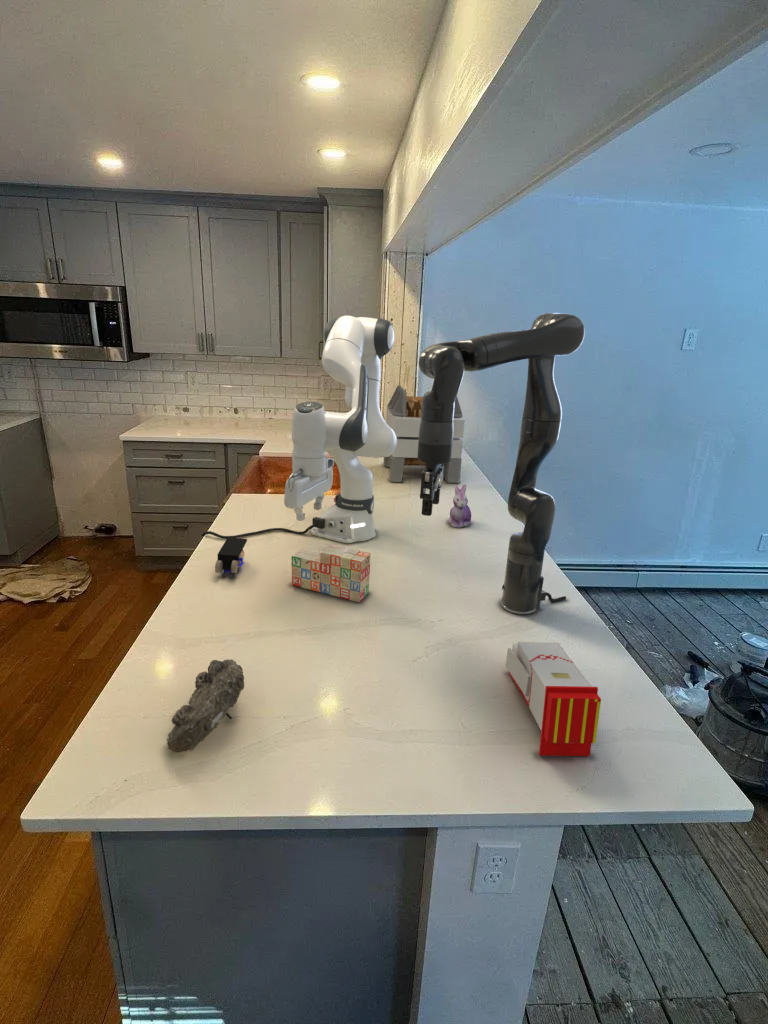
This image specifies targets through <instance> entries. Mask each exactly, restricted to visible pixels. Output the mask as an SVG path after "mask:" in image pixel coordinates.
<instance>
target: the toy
mask: <svg viewBox="0 0 768 1024" xmlns="http://www.w3.org/2000/svg"><path fill="white" fill-rule="evenodd" d="M511 646H512V647H508V648H507V653H506V658H505V659H506V660H505V668H506V669H507V671H508V675H509V676H510V677H511V679H512V681H513V682H514V684H515V686H516V688H517V689H518V691H519V693H520V694H521V696H522V698H523V700H524V702H525V703H526V705H527V706H528V708H529V710H530V712H531V715H532V716H533V718H534V720H535V722H536V723H537V724H536V725H537V726H538V727H539V730H540V731H541V733H540V739H539V740H540V741H539V749H538V751H539V752H538V754H539V756H543V757H548V756H550V757H551V756H552V757H553V756H554V757H568V756H569V757H591V751H592V744H596V743H597V734H598V726H599V717H600V710H601V702H602V698H601V697H600V696H599V694H598V693H599V688H598V686H592V684H590V682H589V681H588V680H587V678H586V677H585V676H584V675H583V673H582V672H581V671H580V669H579V668H578V667H577V665H576V664H575V663H574V661H573V660H572V659H571V658H570V656H569V655H568V654H567V652H566V651H565V649H564V647H562V645H561V644H560V643H559V642H553V641H551V642H549V641H548V642H547V641H546V642H545V641H517V642H512V645H511Z"/></svg>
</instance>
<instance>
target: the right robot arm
mask: <svg viewBox="0 0 768 1024" xmlns="http://www.w3.org/2000/svg"><path fill="white" fill-rule="evenodd" d="M585 331H586V330H585V325H584V323H583V321H582V320H581V319H580V317H578V316H576V315H574V314H571V313H564V312H544V313H541V314H539V315H538V316H537V317H536V318H535V319H534V321H533V322H532V325H531V327H530V328H529V329H523V330H522V329H521V330H511V331H502V332H494V333H488V334H484V335H480V336H475V337H471V338H469V339H464V340H455V341H454V340H453V341H446V342H445V341H444V342H439V343H434V344H431V345H429V346H427V347H426V348H424V349H423V350H422V352H421V353H420V355H419V358H418V367H419V370H420V372H421V373H422V374H423V375H424V376H426V377H428V378H429V379H432V380H433V383H432V386H431V390H429V391H426V392H425V393H424V394H423V396H422V397H423V400H422V414H421V423H420V428H419V442H418V460H419V461H421V462H424V463H426V466H425V469H423V470H422V471H421V478H420V479H421V480H420V493H419V499H422V501H421V505H422V506H421V515H422V516H427V517H430V516H432V514H433V505H438V504H439V503H440V497H441V496H440V495H441V488H442V487H443V486H442V485H443V483H444V476H443V475H444V474H443V473H444V464H446V463H449V462H450V461H451V456H452V445H453V433H454V428H453V419H454V407H455V399H456V397H457V398H458V395H459V392H460V387H461V385H462V381H463V378H464V375H465V372H479V371H483V370H488V369H490V368H495V367H499V366H502V365H507V364H510V363H514V362H519V361H523V360H527V378H526V379H527V380H526V388H525V397H524V405H523V411H522V417H521V427H520V433H519V434H520V435H519V443H518V449H517V456H516V462H515V467H514V472H513V476H512V480H511V485H510V488H509V493H508V498H507V511H508V513H509V515H510V517H512V518H513V519H515V520H516V521H519V522H520V523H523V524H524V527H523V530H522V531H521V532H516V533H513V534H511V535H510V537H509V541H508V547H507V549H508V550H507V557H506V566H505V573H504V580H503V584H502V586H501V591H502V596H501V600H500V605H501V607H502V608H503V609H504V610H505V611H507V612H510V613H511V614H516V615H531V614H533V613H536V611H538V610H540V606H541V602H544V601H546V598H548V601H549V602H551V603H558V602H561V601H564V600H567V596H565V595H563V596H560V597H557V598H553V597H552V594H551V593H550V592H547V591H545V590H543V587H544V586H543V585H544V580H545V577H544V576H543V575H542V571H543V564H544V558H545V552H546V547H547V545H548V543H549V541H550V537H551V534H552V528H553V524H554V520H555V515H556V501H555V499H554V497H553V496H552V495H551V494H549V493H547V492H544V491H542V490H540V489H537V479H538V473H539V469H540V467H541V465H542V464H543V462H544V461H545V460H546V458H547V457H548V456H549V454H550V453H551V452H552V450H554V448H555V446H556V445H557V442H558V440H559V437H560V431H561V426H562V425H561V424H562V418H563V409H562V403H561V400H560V396H559V393H558V390H557V387H556V383H555V376H554V374H555V373H554V371H555V362H556V361H555V360H556V356H557V357H562V356H569V355H571V354H573V353H575V352H577V350H578V349H580V347H581V346H582V345H583V342H584V339H585V335H586V332H585ZM427 491H429V492H428V493H427Z"/></svg>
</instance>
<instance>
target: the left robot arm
mask: <svg viewBox="0 0 768 1024" xmlns="http://www.w3.org/2000/svg"><path fill="white" fill-rule="evenodd" d="M323 334H324V335H323V338H324V343H325V344H324V346H323V350H322V354H321V364H322V368H323V370H324V371H325V373H326V374H327V375H328V376H329V377H330V378H331V379H333V380H334V381H336V382H338V383H340V384H342V385H344V386H345V390H344V391H345V392H344V393H345V394H344V402H345V404H346V406H347V407H348V408H349V409H350V411H347V412H338V411H337V412H336V411H329V410H325V407H324V404H322V403H320V402H318V401H305V402H300V403H298V404H296V405H295V406H294V409H293V412H292V421H291V441H292V443H293V446H292V447H293V448H292V451H291V469H292V470H291V473H290V475H289V478H287V480H286V482H285V486H284V498H283V499H284V500H283V502H284V506H285V508H288V509H292V510H293V511H294V513H295V519H296V521H298V522H302V521H304V520H305V519H306V513H305V512H303V509H304V506H305V505H307V504H308V503H310V502H312V501H313V500H314V503H313V510H314V511H319V510H321V509H322V507H323V501H324V498H325V494H326V493H327V492H329V491H330V490H331V489H332V487H333V481H334V468H333V467H334V465H336V467H337V470H338V473H339V483H340V484H339V485H340V488H339V489H340V490H339V491H338V492H337V494H336V495H335V496H334V497H333V502H334V504H333V505H331V506H329V507H328V508H326V509H325V510H323V512H321V514H320V515H319V517H318V516H314V517H312V522H311V523H312V524H311V525H310V526H308V527H307V528H305V529H304V530H302V531H296V530H292V529H290V528H289V529H288V528H286V527H285V528H284V527H272V528H265V529H262V530H257V531H252V532H246V533H241V534H236V535H235V534H234V535H222V534H218V533H217V532H215V531H211V530H207V531H204V532H203V533H202V534H200V537H205V536H207V535H212V536H214V537H215V538H219V539H224V540H226V539H227V538H244V537H245V538H246V537H250V536H256V535H260V534H265V533H270V532H286V533H291V534H295V535H305V534H307V533H308V532H309V531H310V533H311V536H315V537H319V538H323V539H326V540H330V541H336V542H339V543H343V544H352V543H357V542H365V541H368V540H372V539H373V538H375V537H376V535H377V532H376V528H375V523H374V513H373V512H374V509H375V496H374V474H373V472H372V471H371V469H369V467H367V466H365V465H364V464H362V463H361V462H360V461H359V458H358V457H360V458H372V459H379V458H384V457H389V456H390V455H391V454H392V453H393V452H394V451H395V449H396V445H397V437H396V434H395V432H394V431H393V429H392V428H391V427H390V426H389V425H388V424H387V423H386V419H384V417H383V415H382V411H381V409H380V390H381V375H382V374H381V373H382V368H381V367H382V365H381V364H382V363H381V360H382V359H383V358H384V357H385V356H386V355H387V354H389V352H390V351H391V350H392V349H393V347H394V346H393V345H394V343H395V331H394V325H393V323H392V322H391V321H390V320H387V319H385V318H381V317H380V318H376V317H375V318H374V317H368V316H367V317H366V316H359V317H355V316H352V315H343V316H340V317H335V318H330V319H329V321H328V322H327V323H326V324H325V326H324V331H323ZM327 454H328V455H329V456H330V457H327Z"/></svg>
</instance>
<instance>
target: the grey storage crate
mask: <svg viewBox="0 0 768 1024" xmlns="http://www.w3.org/2000/svg"><path fill="white" fill-rule="evenodd" d="M407 394H408V393H407V390H406V389H404V388H403V387H402V385H399V384H398V385H397V386H396V388H395V390H394V392H393V394H392V395H391V398H390V400H389V402H388V404H387V405H386V413H385V414H386V415H385V422H386V423H387V424H388V425H389V426H390V427H391V428H392V429H393V431H394V432H395V434H396V437H397V445H396V449H395V451H394V452H393V453H392V454H391V455H390V456H389V457H383V466H384V467H388V468H389V475H388V476H389V477H388V478H389V480H390V482H391V483H402V482H403V475H404V469H405V466H406V467H407V466H411V467H412V466H413V467H415V466H416V467H417V466H418V467H426V463H424V462H421V461H419V460H418V442H419V428H420V423H421V414H422V400H423V396H415V395H414V396H413V395H412V396H411V395H407ZM453 428H454V433H453V445H452V456H451V461H450V462H449V463H446V464H444V473H443V479H445V481H446V482H447V483H449V484H455V483H456V484H459V483H461V472H462V461H463V460H462V453H463V442H464V441H463V440H462V439H463V438H464V431H465V430H464V429H465V419H464V418H463V411H462V408H461V405H460V402H459V398H458V396H457V397H456V399H455V407H454V419H453Z"/></svg>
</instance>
